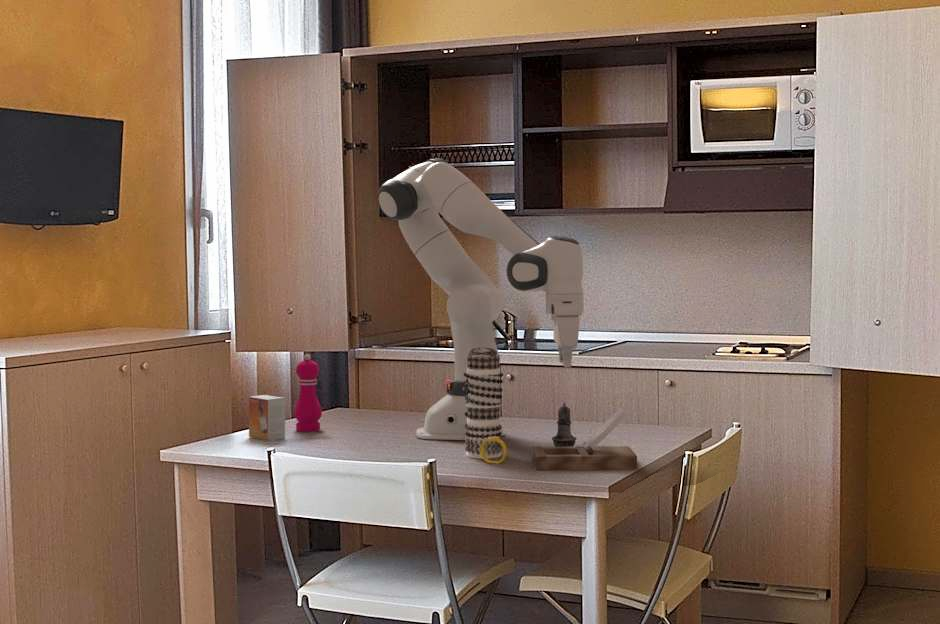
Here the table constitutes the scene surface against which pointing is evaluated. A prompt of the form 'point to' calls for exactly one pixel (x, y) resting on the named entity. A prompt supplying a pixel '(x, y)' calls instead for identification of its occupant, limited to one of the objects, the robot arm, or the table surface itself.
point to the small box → (267, 417)
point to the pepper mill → (307, 397)
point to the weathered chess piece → (564, 429)
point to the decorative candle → (483, 402)
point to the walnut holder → (584, 458)
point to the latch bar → (605, 429)
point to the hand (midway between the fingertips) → (565, 364)
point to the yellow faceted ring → (496, 438)
